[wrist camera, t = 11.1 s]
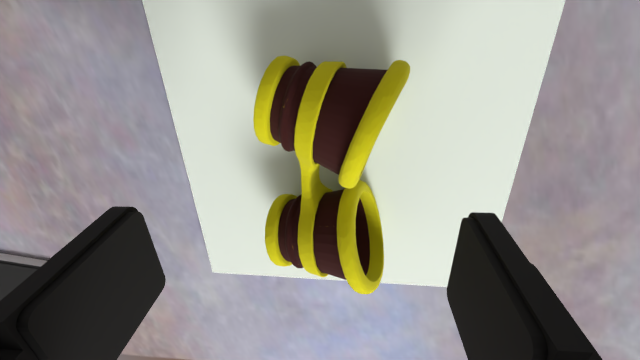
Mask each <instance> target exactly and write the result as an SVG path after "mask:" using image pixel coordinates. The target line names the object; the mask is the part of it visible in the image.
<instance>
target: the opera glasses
mask: <svg viewBox="0 0 640 360" xmlns="http://www.w3.org/2000/svg"><path fill="white" fill-rule="evenodd" d="M409 74H410V66H409V64H408V63H407V62H406V61H403V60H396V61H394V62H393V63H392V64H391V66H390V67H389V69H388V70H381V69H359V68H347V67H346V64H345V63H344V62H337V61H324V62H322V63H321V64H320V65H318V67H316V65H315V64H314V63H313V62H310V61H309V62H305V63H304V64H302V65H301V66H300V64H299V62H298V61H297V60H296V59H294V58H292V57H289V56H278V57H276V58H275V59H274V60H273V61H272V62H271V63H270V64H269V66H268V67H267V69H266V71H265V73H264V75H263V77H262V79H261V81H260V85H259V88H258V91H257V95H256V100H255V105H254V116H253V122H254V130H255V134H256V136H257V138H258V140H259V141H260V142H262V143H264V144H268V145H272V146H276V145H278V144H280V143H281V145H282V147H283V149H284V150H285V151H288V152H291V151H295V153H296V156H297V158H298V160H299V163H300V168H301V192H302V194H301V195H299V196H298V197H297V196H296V195H293V194H282V195H280V196H278V197H277V198H276V199H275V200H274V201H273V203H272V205H271V207H270V209H269V212H268V215H267V219H266V225H265V245H266V250H267V254H268V256H269V258H270V260H271V261H272V262H273V263H274V264H275V265H277V266H284V267H285V266H290V265H292V264H293V265H294V266H295V267H296V268H304V269H305V270H306V271H307V272H308V273H311V274H314V275H317V276H320V277H326V276H328V274H329V275H332V276H335V277H338V278H341V279H344V280H347V282H348V284H349V285H350V286H351V287H352V288H353V290H354V291H356V292H358V293H360V294H369V293H372V292H373V291H375V290H376V288H377V287H378V286H379V284H380V281H381V278H382V275H383V269H384V243H383V234H382V226H381V220H380V215H379V211H378V207H377V204H376V200H375V197H374V195H373V193H372V190H371V188H370V187H369V186H368V185H367V183H365V182H363V181H361V180H359V179H360V177H361V175H362V173H363V170H364V168H365V165H366V163H367V160H368V158H369V156H370V153H371V151H372V149H373V146H374V144H375V142H376V140H377V138H378V136H379V134H380V132H381V130H382V128H383V126H384V124H385V122H386V120H387V118H388V116H389V114H390V112H391V110H392V108H393V106H394V104H395V102H396V101H397V99H398V97H399V95H400V93H401V91H402V89H403V87H404V86H405V84H406V82H407V80H408V78H409ZM320 165H321V166H323V167H325V168H327V169H329V170H330V171H332V172H334V173H336V174H338V175H339V179H338V180H339V184H340V185H341V186H342V187H345V189H342V190H337V191H333V190H331V189H329V188H327V187H326V186H325V185H323V184H322V182H321V181H320V177H319V168H320ZM361 201H362V202H361Z"/></svg>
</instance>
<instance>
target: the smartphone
mask: <svg viewBox="0 0 640 360" xmlns="http://www.w3.org/2000/svg"><path fill="white" fill-rule="evenodd" d="M46 262H47V261H45V260H39V259H33V258H28V257H22V256H16V255H10V254H4V253H0V301H1V300H2V299H3V298H4V297H5V296H7V295H8V294H9V293H10V292H11V291H12V290H14V289H15V288H16V287H17V286H18V285H20V284H21V283H22V282H23V281H24V280H26V279H27V278H28V277H29V276H30V275H31V274H33V273H34V272H35V271H36V270H37V269H39V268H40V267H41V266H42V265H43V264H44V263H46Z"/></svg>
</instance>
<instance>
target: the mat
mask: <svg viewBox="0 0 640 360" xmlns="http://www.w3.org/2000/svg"><path fill="white" fill-rule="evenodd" d="M142 2H143V6H144V9H145V13H146V17H147V21H148V25H149V29H150V32H151V36H152V40H153V44H154V48H155V52H156V56H157V59H158V63H159V67H160V71H161V75H162V79H163V82H164V86H165V90H166V94H167V98H168V102H169V106H170V109H171V113H172V117H173V121H174V125H175V129H176V132H177V136H178V140H179V144H180V148H181V152H182V156H183V159H184V163H185V167H186V171H187V175H188V179H189V182H190V186H191V190H192V194H193V198H194V202H195V206H196V209H197V213H198V217H199V221H200V225H201V229H202V232H203V236H204V240H205V244H206V248H207V252H208V255H209V259H210V263H211V267H212V271H213V273H229V274H245V275H261V276H277V277H293V278H310V279H326V280H342V281H347V280H344V279H341V278H338V277H335V276H332V275H329V274H328V276H326V277H320V276H317V275H314V274H311V273H308V272H307V271H306V270H305V269H304V268H296V267H295V266H294V265H293V264H292V265H290V266H285V267H284V266H277V265H275V264H274V263H273V262H272V261H271V260H270V258H269V256H268V254H267V250H266V245H265V225H266V219H267V215H268V212H269V209H270V207H271V205H272V203H273V201H274V200H275V199H276V198H277V197H278V196H280V195H282V194H293V195H296V196H297V197H298V196H299V195H301V194H302V192H301V168H300V163H299V160H298V158H297V156H296V153H295V151H291V152H288V151H285V150H284V149H283V147H282V145H281V143H280V144H278V145H276V146H272V145H268V144H264V143H262V142H260V141H259V140H258V138H257V136H256V134H255V130H254V122H253V116H254V105H255V100H256V95H257V91H258V88H259V85H260V81H261V79H262V77H263V75H264V73H265V71H266V69H267V67H268V66H269V64H270V63H271V62H272V61H273V60H274V59H275V58H276V57H278V56H289V57H292V58H294V59H296V60H297V61H298V62H299V64H300V66H301V65H302V64H304V63H305V62H309V61H310V62H313V63H314V64H315V65H316V67H318V65H320V64H321V63H322V62H324V61H337V62H344V63H345V64H346V67H347V68H359V69H381V70H388V69H389V67H390V66H391V64H392V63H393V62H394V61H396V60H403V61H406V62H407V63H408V64H409V66H410V74H409V78H408V80H407V82H406V84H405V86H404V87H403V89H402V91H401V93H400V95H399V97H398V99H397V101H396V102H395V104H394V106H393V108H392V110H391V112H390V114H389V116H388V118H387V120H386V122H385V124H384V126H383V128H382V130H381V132H380V134H379V136H378V138H377V140H376V142H375V144H374V146H373V149H372V151H371V153H370V156H369V158H368V160H367V163H366V165H365V168H364V170H363V173H362V175H361V177H360V179H359V180H361V181H363V182H365V183H367V185H368V186H369V187H370V188H371V190H372V193H373V195H374V197H375V200H376V204H377V207H378V211H379V215H380V220H381V226H382V234H383V243H384V269H383V275H382V278H381V281H380V283H390V284H406V285H422V286H439V287H447V286H448V281H449V276H450V272H451V267H452V262H453V258H454V253H455V248H456V244H457V239H458V234H459V230H460V225H461V221H462V219H463V218H468V216H469V214H470V213H472V212H478V213H495V215H496V216H497V217H498V218H499V220H500V221H501V222H502V219H503V215H504V212H505V208H506V205H507V201H508V198H509V194H510V191H511V187H512V184H513V180H514V177H515V174H516V170H517V167H518V163H519V160H520V156H521V153H522V149H523V146H524V142H525V139H526V135H527V132H528V128H529V125H530V122H531V118H532V115H533V111H534V108H535V104H536V101H537V97H538V94H539V90H540V87H541V83H542V80H543V76H544V73H545V69H546V66H547V63H548V59H549V56H550V52H551V49H552V45H553V42H554V38H555V35H556V31H557V28H558V24H559V21H560V17H561V14H562V10H563V7H564V4H565V0H142ZM319 177H320V181H321V182H322V184H323V185H325V186H326V187H327V188H329V189H331V190H333V191H337V190H342V189H345V187H342V186H341V185H340V184H339V180H338V179H339V175H338V174H336V173H334V172H332V171H330V170H329V169H327V168H325V167H323V166H321V165H320V168H319ZM361 202H362V201H361Z"/></svg>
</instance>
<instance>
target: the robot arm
mask: <svg viewBox="0 0 640 360" xmlns="http://www.w3.org/2000/svg"><path fill="white" fill-rule="evenodd" d="M164 286H165V275H164V273H163V270H162V267H161V264H160V261H159V259H158V256H157V253H156V250H155V248H154V245H153V242H152V239H151V236H150V234H149V231H148V228H147V225H146V223H145V220H144V217H143V215H142V213H140V212H138V210H137V209H136V208H134V207H112V208H110V209H109V210H107V211H106V212H105V213H104V214H103V215H101V216H100V217H99V218H98V219H97V220H95V221H94V222H93V223H92V224H91V225H90V226H88V227H87V228H86V229H85V230H84V231H82V232H81V233H80V234H79V235H78V236H77V237H75V238H74V239H73V240H72V241H71V242H69V243H68V244H67V245H66V246H65V247H63V248H62V249H61V250H60V251H59V252H58V253H56V254H55V255H54V256H53V257H52V258H50V259H49V260H48V261H47V262H46V263H44V264H43V265H42V266H41V267H40V268H39V269H37V270H36V271H35V272H34V273H33V274H31V275H30V276H29V277H28V278H27V279H26V280H24V281H23V282H22V283H21V284H20V285H18V286H17V287H16V288H15V289H14V290H12V291H11V292H10V293H9V294H8V295H7V296H5V297H4V298H3V299H2V300H1V301H0V360H117V358H118V357H119V355H120V354H121V352H122V351H123V349H124V348H125V346H126V345H127V343H128V342H129V340H130V339H131V337H132V336H133V334H134V333H135V331H136V329H137V328H138V326H139V325H140V323H141V322H142V320H143V319H144V317H145V316H146V314H147V313H148V311H149V310H150V308H151V307H152V305H153V304H154V302H155V301H156V299H157V298H158V296H159V295H160V293H161V292H162V290H163V288H164ZM447 297H448V301H449V304H450V307H451V310H452V313H453V316H454V319H455V322H456V325H457V328H458V331H459V334H460V337H461V340H462V343H463V346H464V349H465V352H466V355H467V358H468V360H602V358H601V357H600V356H599V354H598V353H597V351H596V350H595V349H594V347H593V346H592V344H591V343H590V342H589V340H588V339H587V337H586V336H585V335H584V333H583V332H582V331H581V329H580V328H579V326H578V325H577V324H576V322H575V321H574V319H573V318H572V317H571V315H570V314H569V312H568V311H567V310H566V308H565V307H564V305H563V304H562V303H561V301H560V300H559V298H558V297H557V296H556V294H555V293H554V291H553V290H552V289H551V287H550V286H549V285H548V283H547V282H546V280H545V279H544V278H543V276H542V275H541V273H540V272H539V271H538V269H537V268H536V267H535V266H534V265H533V264H531V263H530V262H529V261H528V259H527V258H526V257H525V255H524V254H523V252H522V251H521V250H520V248H519V247H518V245H517V244H516V242H515V241H514V240H513V238H512V237H511V235H510V234H509V233H508V231H507V230H506V228H505V227H504V225H503V224H502V223H501V221H500V220H499V218H498V217H497V216H496V215H495V213H478V212H472V213H470V214H469V216H468V218H463V219H462V221H461V225H460V230H459V234H458V239H457V244H456V248H455V253H454V258H453V262H452V267H451V272H450V276H449V281H448V286H447Z"/></svg>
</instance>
